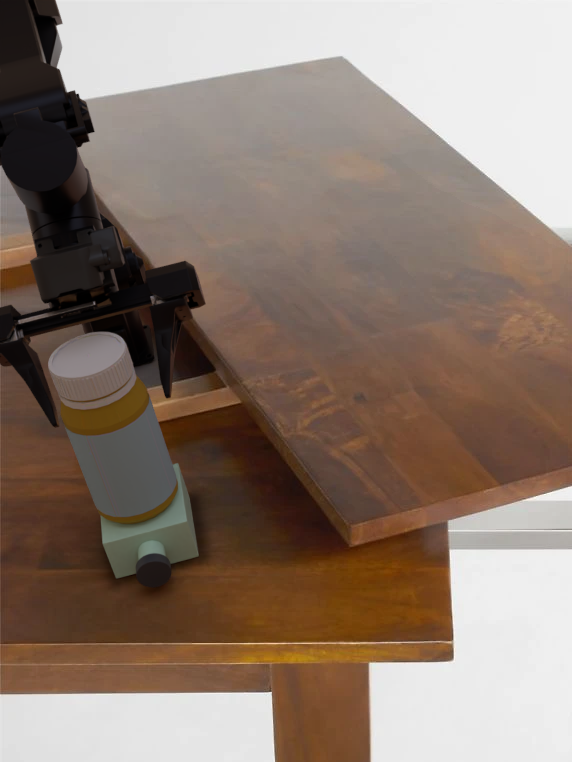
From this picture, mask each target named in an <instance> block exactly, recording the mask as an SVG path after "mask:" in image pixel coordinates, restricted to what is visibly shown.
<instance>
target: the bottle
mask: <svg viewBox="0 0 572 762" xmlns="http://www.w3.org/2000/svg"><path fill="white" fill-rule="evenodd" d="M47 365H48V372H49V375H50V378H51V379H52V383H53V385H54V387H55V390H56V392H57V395H58V398H59V400H60V412H59V413H60V417H61V420H62V424H63V426H64V429H65V431H66V434H67V437H68V439H69V441H70V445H71V447H72V450H73V452H74V454H75V455H74V456H75V457H76V460H77V462H78V466H79V468H80V471H81V472H82V475H83V478H84V480H85V483H86V486H87V488H88V491H89V493H90V494H89V495H90V496H91V499H92V501H93V504H94V506H95V508H96V510H97V512H98V515H100V517H101V516H103V517H104V518H105V519H107V520H110V521H113V522H116V523H120V524H136V523H141V522H145V521H147V520H149V519H152V518H154V517H156V516H157V515H159V514H160V513H162V512H163V511H164V510H165V509H166V508H167V507H168V506H169V505H170V504H171V502H172V501H173V499H174V497H175V495H176V493H177V491H178V481H177V478H176V474H175V471H174V468H173V465H172V464H173V462H172V458H171V456H170V453H169V449H168V447H167V444H166V440H165V438H164V435H163V432H162V429H161V426H160V423H159V419H158V417H157V415H156V411H155V407H154V405H153V402H152V399H151V396H150V394H149V391H148V388H147V386H146V385H145V383H144V382H143V381H142V380H141V378H140V377H139V376H138V375H137V374H136V369H135V367H134V366H133V363H132V360H131V357H130V354H129V351H128V348H127V345H126V343H125V341H124V340H123V339H122V338H121V337H120V336H119V335H117V334H114V333H110V332H93V333H87V334H85V333H84V334H80V335H78V336H75V337H73V338H70V339H68V340H67V341H65V342H63V343H62V344H61V345H59V346H57V348H55V350H54V351H52V353H51V354H50V356H49V358H48V363H47Z"/></svg>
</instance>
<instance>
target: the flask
mask: <svg viewBox="0 0 572 762" xmlns="http://www.w3.org/2000/svg"><path fill="white" fill-rule="evenodd" d="M172 465H173V468H174V471H175V474H176V478H177V481H178V491H177V493H176V495H175V497H174V499H173V501H172V502H171V504H170V505H169V506H168V507H167V508H166V509H165V510H164V511H163V512H162V513H160V514H159V515H157V516H156V517H154V518H152V519H149V520H147V521H145V522H141V523H136V524H120V523H116V522H113V521H110V520H107V519H105V518H104V517H103V516H101V515H100V527H101V529H100V530H101V541H102V542H101V543H102V546H103V549H104V551H105V553H106V556H107V559H108V561H109V564H110V567H111V569H112V571H113V574H114V578H115V579H116V580H117V579H120V578H121V579H122V578H125V577H129V576H131V575H136V579H137V582H138V583H139V584H140V585H142V586H144V587H146V588H159V587H162V586H164V585H166V584H167V583H168V582H169V581H170V579H171V577H172V575H173V572H172V565H173V564H176V563H179V562H184V561H186V560H191V559H195V558H198V557H200V556H199V548H198V542H197V536H196V530H195V523H194V518H193V516H194V515H193V511H192V504H191V499H190V498H191V497H190V495H189V494H190V493H189V492H188V488H187V485H186V483H185V479H184V476H183V473H182V470H181V467H180V464H179V463H178V462H177V463H172Z"/></svg>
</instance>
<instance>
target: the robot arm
mask: <svg viewBox="0 0 572 762" xmlns="http://www.w3.org/2000/svg"><path fill="white" fill-rule="evenodd" d="M60 25H64V23H63V19H62V16H61V13H60V10H59V7H58V3H57V0H0V167H1V168H2V170H3V172H4V174H5V176H6V178H7V180H8V182H9V183H10V185H11V186H12V189H13V190H14V192H15V193H16V195H17V198H18V199H19V200H20V201H21V203H22V204H23V205H24V208H25V212H26V216H27V221H28V224H29V228H30V233H31V237H32V241H33V245H34V250H35V254H36V257H34V258H31V259H30V260H29V263H30V266H31V269H32V272H33V276H34V280H35V283H36V286H37V290H38V293H39V296H40V299H41V301H42V303H44V304H45V305H46V304H48V308H44V309H40V310H36V311H32V312H28V313H23V314H21V313H20V312H19V311H18V310H17V309H16V308H15V307H14V306H13V305H12V304H8V305H4V306H0V365H1V366H2V367H5V368H7V367H11V366H12V368H13V369H14V370H15V371H16V373H17V374H18V375H19V377H21V379H22V380H23V381H24V383H25V384H26V386H27V387H28V389H29V391H30V392H31V394H32V395H33V397H34V399H35V400H36V402H37V403H38V405H39V406H40V408H41V410H42V411H43V413H44V414H45V417H46V418H47V419H48V421H49V423H50V424H51V426H52V427H53V428H55V429H56V428H59V427H60V421H59V416H58V409H57V407H56V404H55V401H54V398H53V395H52V392H51V389H50V387H49V384H48V380H47V378H46V375H45V372H44V369H43V366H42V363H41V360H40V358H39V357H40V356H39V353H38V352H37V351H35V349H33V348H32V347H31V346H30V344H31V342H32V341H31V337H36V336H40V335H43V334H48V333H52V332H55V331H59V330H63V329H69V328H71V327H75V326H79V325H81V328H82V329H83V332H84V334H87V333H93V332H110V333H114V334H117V335H119V336H120V337H121V338H122V339H123V340H124V341H125V343H126V345H127V348H128V351H129V354H130V357H131V360H132V363H133V367H134V366H135V367H136V366H139V365H142V364H143V365H144V364H147V363H150V362H153V361H154V360H155V352H154V351H155V350H154V343H153V337H152V330H151V327H150V325H149V324H143V323H142V320H141V316H140V313H139V310H142V309H145V308H149V312H150V317H151V323H152V327H153V334H154V335H153V336H154V342H155V349H156V358H157V364H158V365H157V366H158V373H159V379H160V380H159V381H160V383H161V387H162V391H163V394H164V395H163V396H164V397H165V399H171V398H172V393H173V392H172V391H173V390H172V389H173V381H174V380H173V379H174V369H175V368H174V367H175V358H176V352H177V351H176V350H177V345H178V342H179V338H180V333H181V328H182V325H183V323H184V322H187V321H191V320H192V319H193V318H194V316H193V312H192V310H194V309H198V308H201V307H203V306H205V305H206V301H205V296H204V292H203V288H202V284H201V281H200V278H199V275H198V272H197V269H196V267H195V265H193V264H192V263H190V262H188V261H187V260H183V261H179V262H175V263H171V264H165V265H162V266H159V267H154V268H151V269H146V266H145V263H144V260H143V258H142V257H140V255H137V254H136V252H135V251H134V250H133V248H132V246H131V245H129V246H125V245H124V243H123V239H122V237H121V234H120V231H119V230H118V228H117V227H116V226H115V225H114V224H113V223H112V222H111V221H110V220H109V218H107V217H105V216H104V215H103V214H102V213H101V212H100V210H99V206H98V202H97V198H96V195H95V190H94V186H93V182H92V179H91V175H90V170H89V169H88V167H85V164H84V162H83V159H82V158H81V157H82V156H81V154H80V152H79V148H81V147H82V146H83V145H84V144H86V143H90V142H91V141H90V136H89V134H93V133H95V132H96V131H95V128H94V124H93V120H92V116H91V113H90V110H89V109H90V108H89V107H88V103H87V101H85V100H84V99H82V98H81V97H80V94H79V93H77V92H76V90H75V89H74V90H70V91H68V90H67V87H66V84H65V81H64V78H63V74H62V71H61V69H60V68H58V65H59V60H60V58H61V54H62V51H63V44H62V40H61V37H60V33H59V31H58V27H57V26H60Z"/></svg>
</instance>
